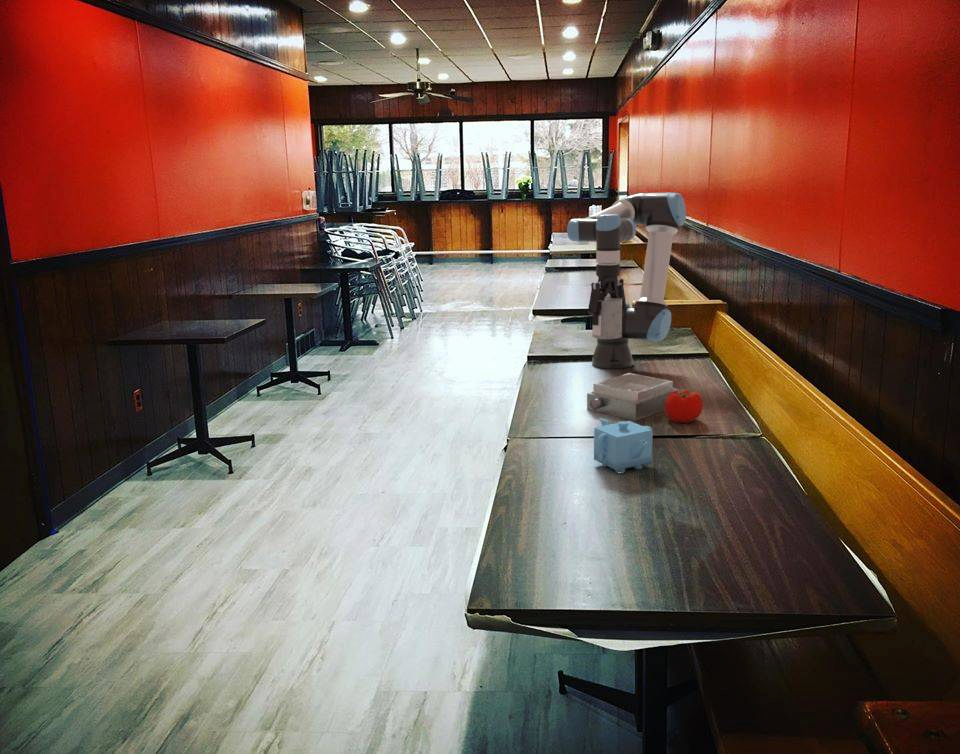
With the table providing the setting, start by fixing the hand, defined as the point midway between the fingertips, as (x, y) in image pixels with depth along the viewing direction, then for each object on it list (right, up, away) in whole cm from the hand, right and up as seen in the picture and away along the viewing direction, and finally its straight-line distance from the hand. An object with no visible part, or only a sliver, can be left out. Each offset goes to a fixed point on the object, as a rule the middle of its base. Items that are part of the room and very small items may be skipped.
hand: (607, 332), depth 259 cm
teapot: (-6, -36, -62) cm, 72 cm away
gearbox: (+4, -24, -15) cm, 29 cm away
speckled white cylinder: (0, -1, 0) cm, 1 cm away
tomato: (+17, -27, -29) cm, 43 cm away
